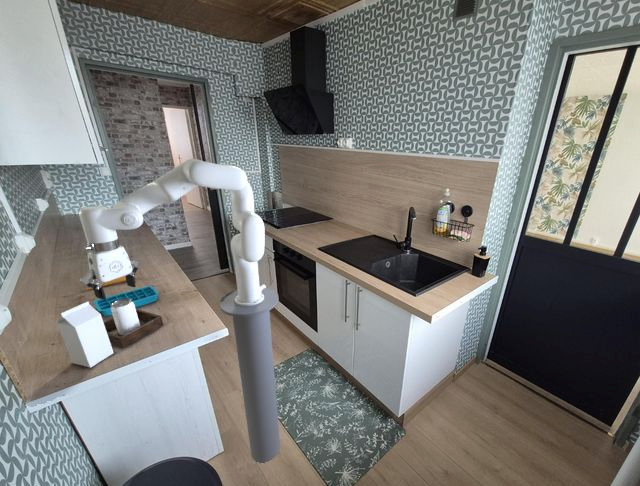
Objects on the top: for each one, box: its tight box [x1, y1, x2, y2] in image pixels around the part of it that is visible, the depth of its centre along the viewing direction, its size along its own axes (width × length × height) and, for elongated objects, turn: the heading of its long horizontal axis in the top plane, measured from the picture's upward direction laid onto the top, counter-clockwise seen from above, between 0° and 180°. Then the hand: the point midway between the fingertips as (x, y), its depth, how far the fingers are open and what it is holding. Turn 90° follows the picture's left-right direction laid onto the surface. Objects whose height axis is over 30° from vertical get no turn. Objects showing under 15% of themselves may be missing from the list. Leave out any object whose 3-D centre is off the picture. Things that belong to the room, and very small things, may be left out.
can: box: [111, 299, 141, 336], centre depth 104 cm, size 6×6×12 cm
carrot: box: [82, 275, 136, 292], centre depth 137 cm, size 20×4×4 cm, turn 143°
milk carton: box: [56, 301, 114, 369], centre depth 90 cm, size 7×7×19 cm
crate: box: [103, 308, 164, 349], centre depth 106 cm, size 15×15×4 cm
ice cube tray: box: [93, 285, 160, 317], centre depth 123 cm, size 12×20×3 cm, turn 139°
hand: (117, 292), depth 100 cm, fingers open, 9 cm apart
